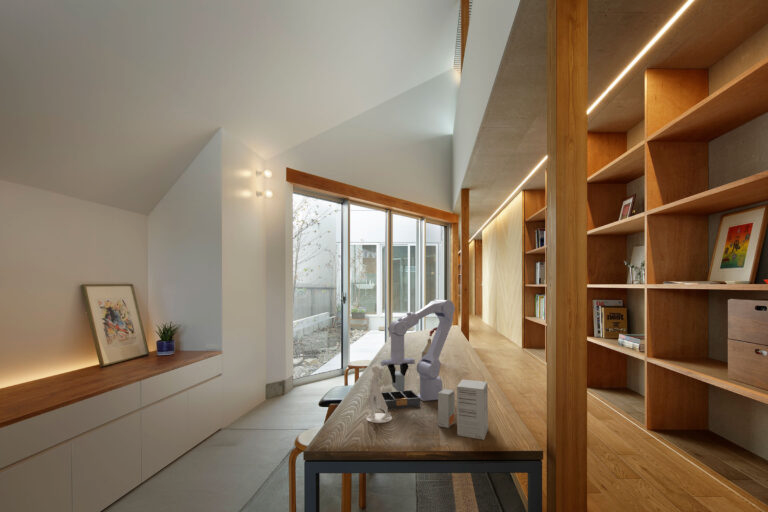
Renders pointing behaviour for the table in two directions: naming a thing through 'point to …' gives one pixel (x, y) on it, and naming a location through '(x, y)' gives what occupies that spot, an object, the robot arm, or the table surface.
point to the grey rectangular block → (398, 381)
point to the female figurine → (377, 398)
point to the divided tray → (401, 399)
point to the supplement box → (472, 409)
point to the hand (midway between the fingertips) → (397, 381)
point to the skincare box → (446, 408)
